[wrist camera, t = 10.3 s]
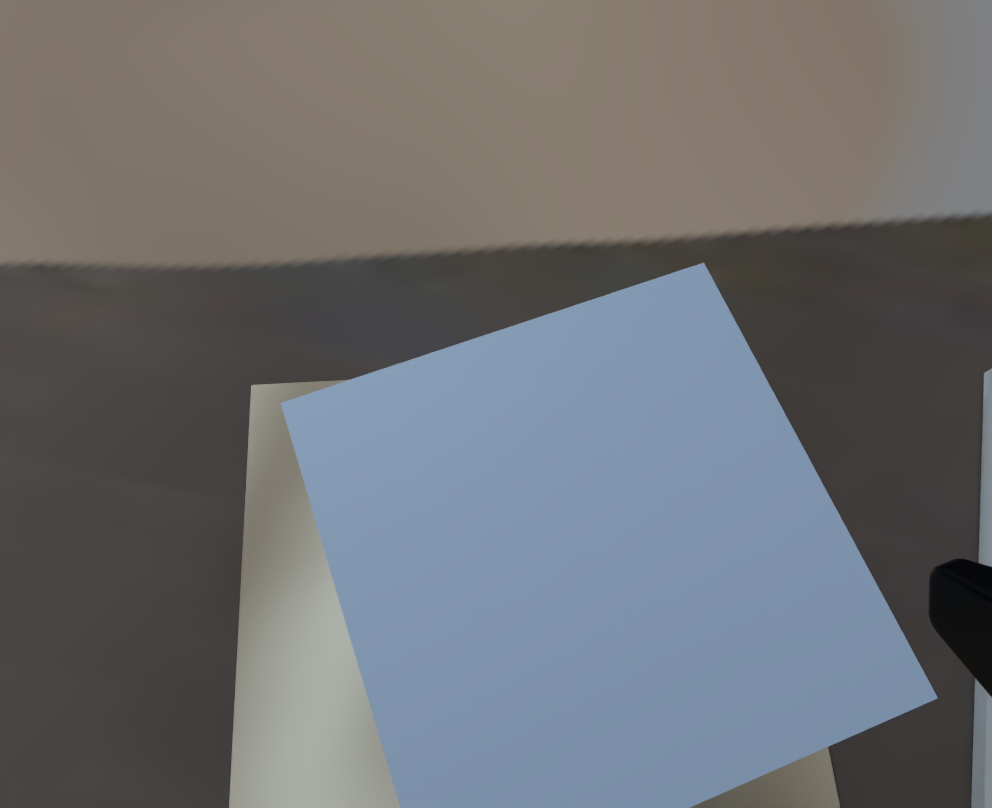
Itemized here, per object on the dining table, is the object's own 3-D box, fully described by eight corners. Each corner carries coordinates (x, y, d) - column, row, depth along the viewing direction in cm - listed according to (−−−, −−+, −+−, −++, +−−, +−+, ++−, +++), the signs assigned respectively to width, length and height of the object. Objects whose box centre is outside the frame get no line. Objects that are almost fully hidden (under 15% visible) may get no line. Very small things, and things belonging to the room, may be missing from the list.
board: (740, 373, 22) (751, 359, 22) (846, 931, 18) (867, 944, 17) (261, 398, 22) (251, 385, 21) (233, 981, 17) (218, 998, 16)
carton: (664, 690, 18) (952, 691, 7) (464, 774, 18) (433, 919, 6) (584, 500, 20) (716, 258, 9) (397, 570, 19) (281, 403, 8)
